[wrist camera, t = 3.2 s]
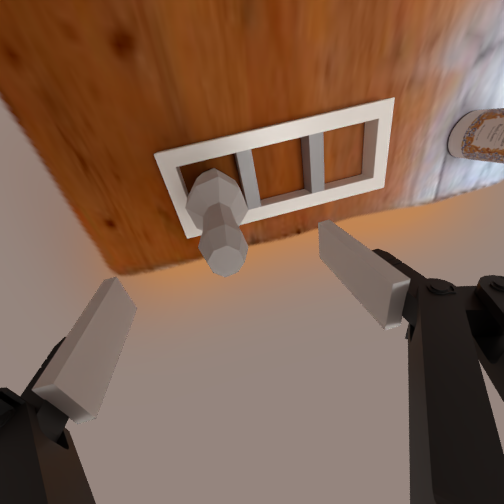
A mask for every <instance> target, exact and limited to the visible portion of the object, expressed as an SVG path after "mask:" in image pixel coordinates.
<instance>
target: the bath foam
mask: <svg viewBox="0 0 504 504" xmlns="http://www.w3.org/2000/svg"><path fill="white" fill-rule="evenodd" d="M448 148H449V152H450V153H451V155H453V156H454V157H458V158H466V159H472V160H480V161H488V162H496V163H504V108H500V109H486V110H476V111H473V112H471V113H469V114H467V115H466V116H464V117H463V118H462V119H461V120H460V121H459V122H458V123H457V124H456V126H455V127H454V129H453V131H452V132H451V135H450V138H449V142H448Z"/></svg>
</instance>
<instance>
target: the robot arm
mask: <svg viewBox="0 0 504 504" xmlns="http://www.w3.org/2000/svg"><path fill="white" fill-rule="evenodd" d="M318 230H319V251H320V252H319V253H320V258H321V260H322V261H323V262H324V263H325V264H326V265H327V266H328V267H329V268H330V270H331V271H332V272H333V273H334V274H335V275H336V276H337V277H338V279H339V280H340V281H341V282H342V283H343V284H344V285H345V286H346V287H347V289H348V290H349V291H350V292H351V293H352V294H353V295H354V296H355V297H356V299H357V300H358V301H359V302H360V303H361V304H362V305H363V306H364V307H365V309H366V310H367V311H368V312H369V313H370V314H371V315H372V316H373V318H374V319H375V320H376V321H377V322H378V323H379V324H380V325H381V326H382V328H383V329H384V330H387V329H390V328H394V327H397V326H400V324H401V319H402V316H403V317H404V318H405V319H406V320H407V321H408V322H409V325H408V329H407V333H406V337H405V338H406V339H408V374H409V446H410V447H409V449H410V504H504V454H503V450H502V447H501V442H500V439H499V435H498V431H497V428H496V424H495V420H494V417H493V412H492V409H491V405H490V401H489V398H488V394H487V390H486V386H485V382H484V379H483V375H482V371H481V367H480V364H479V361H480V363H481V364H482V366H483V368H484V370H485V371H486V373H487V375H488V376H489V378H490V380H491V381H492V383H493V385H494V386H495V388H496V390H497V391H498V393H499V395H500V396H501V398H502V400H503V401H504V277H503V276H495V275H491V276H490V275H489V276H484V277H481V278H480V280H479V282H478V284H477V286H460V287H456V286H454V285H453V284H452V283H450V282H447V281H445V280H441V279H433V278H429V279H427V278H425V277H424V276H422V275H421V274H419V273H418V272H416V271H415V270H413V269H412V268H410V267H409V266H407V265H406V264H404V263H402V262H401V261H400V260H398V259H396V258H395V257H394V256H393V255H391V254H390V253H388V252H385V251H382V250H380V249H375V250H370V249H368V248H367V247H366V246H364V245H363V244H362V243H360V242H359V241H357V240H356V239H355V238H353V237H352V236H351V235H349V234H348V233H347V232H345V231H344V230H343V229H341V228H340V227H338V226H337V225H336V224H334V223H333V222H332V221H330V220H327V221H323V222H319V223H318ZM136 310H137V307H136V306H135V304H134V303H133V301H132V300H131V298H130V297H129V295H128V293H127V292H126V290H125V289H124V287H123V286H122V284H121V283H120V281H119V280H118V278H117V277H114V278H110V279H106V280H104V281H103V283H102V284H101V286H100V287H99V289H98V290H97V292H96V293H95V295H94V296H93V298H92V299H91V301H90V302H89V304H88V305H87V307H86V308H85V310H84V311H83V313H82V314H81V316H80V317H79V319H78V320H77V322H76V323H75V325H74V327H73V328H72V329H71V331H70V332H69V334H68V335H67V337H64V338H63V339H62V340H61V341H60V342H59V343H58V344H57V345H56V346H55V347H54V348H53V350H52V351H51V353H50V354H49V355H48V357H47V359H46V360H45V361H44V363H43V364H42V366H41V368H40V369H39V370H38V372H37V373H36V374H35V376H34V377H33V379H32V380H31V382H30V383H29V384H28V386H27V387H26V389H25V390H24V392H23V393H22V395H21V396H18V395H17V394H15V393H14V392H12V391H11V390H9V389H8V388H0V504H96V503H95V500H94V498H93V495H92V492H91V489H90V487H89V484H88V481H87V478H86V476H85V473H84V470H83V467H82V465H81V462H80V459H79V457H78V454H77V451H76V448H75V446H74V443H73V440H72V438H71V435H70V432H69V431H68V430H67V429H66V428H65V425H66V423H67V421H68V419H69V418H70V419H71V420H73V421H74V422H75V423H77V424H80V423H83V422H87V421H90V420H93V419H96V418H97V415H98V412H99V409H100V407H101V404H102V401H103V399H104V396H105V393H106V391H107V388H108V385H109V383H110V380H111V377H112V375H113V372H114V369H115V367H116V364H117V361H118V359H119V356H120V353H121V350H122V348H123V345H124V343H125V340H126V337H127V334H128V332H129V328H130V326H131V324H132V321H133V318H134V316H135V313H136ZM478 359H479V360H478Z"/></svg>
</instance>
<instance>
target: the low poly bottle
mask: <svg viewBox="0 0 504 504" xmlns="http://www.w3.org/2000/svg"><path fill="white" fill-rule="evenodd" d="M185 209H186V210H187V212H188V214H189V216H190V217H191V219H192V221H193V223H194V225H195V226H196V228H197V229H199V230H202V231H203V232H202V235H201V239H200V243H199V247H198V248H199V250H200V251H201V253H202V255H203V256H204V258H205V260H206V261H207V263H208V265H209V266H210V268H211V270H212V271H213V273H216V274H218V275H221V276H224V277H227V276H230V275H232V274H235V273H237V272H238V271H239V270H240V268H241V267H242V265H243V264H244V262H245V258H246V254H247V251H248V245H247V243H246V241H245V238H244V236H243V234H242V232H241V230H240V229H239V225H240V224H241V222H242V220H243V219H244V217H245V215H246V214H247V212H248V207H247V205H246V202H245V200H244V197H243V195H242V192H241V190H240V188H239V186H238V184H237V183H236V181H235V180H234V179H232V178H231V177H229V176H227V175H226V174H224V173H222V172H220V171H219V170H217V169H215V168H213V169H210V170H208V171H206V172H203V173H202V174H201V175H200V176H199V177H197V179H196V181H195V183H194V185H193V187H192V189H191V191H190V193H189V196H188V198H187V203H186V207H185Z"/></svg>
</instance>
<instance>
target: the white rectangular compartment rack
mask: <svg viewBox="0 0 504 504" xmlns="http://www.w3.org/2000/svg"><path fill="white" fill-rule="evenodd" d="M394 99H395V98H388V99H382V100H377V101H372V102H368V103H364V104H360V105H355V106H351V107H347V108H343V109H338V110H334V111H330V112H325V113H321V114H317V115H313V116H308V117H304V118H300V119H296V120H291V121H287V122H283V123H279V124H274V125H270V126H266V127H261V128H257V129H253V130H249V131H244V132H240V133H236V134H232V135H227V136H223V137H219V138H215V139H210V140H206V141H202V142H198V143H193V144H189V145H185V146H180V147H176V148H172V149H168V150H163V151H159V152H157V153H155V154H154V157H155V159H156V162H157V164H158V167H159V169H160V172H161V174H162V177H163V179H164V182H165V184H166V187H167V189H168V192H169V194H170V197H171V199H172V202H173V204H174V207H175V209H176V212H177V214H178V217H179V219H180V222H181V224H182V227H183V229H184V232H185V234H186V237H187V239H188V238H192V237H196V236H200V235H202V232H203V231H202V230H199V229H197V228H196V226H195V225H194V223H193V221H192V219H191V217H190V216H189V214H188V212H187V210H186V209H185V207H186V203H187V198H188V196H189V194H188V191H187V188H186V185H185V182H184V179H183V176H182V174H181V171H180V168H179V166H183V165H187V164H191V163H195V162H199V161H203V160H208V159H212V158H216V157H220V156H224V155H229V154H233V153H234V155H235V159H236V164H237V168H238V173H239V178H240V182H241V187H242V191H243V196H244V200H245V202H246V205H247V207H248V212H247V214H246V215H245V217H244V219H243V220H242V222H241V224H240V225H242V224H246V223H250V222H253V221H257V220H261V219H265V218H269V217H273V216H276V215H280V214H284V213H288V212H292V211H296V210H299V209H303V208H307V207H311V206H315V205H319V204H322V203H326V202H330V201H334V200H338V199H342V198H346V197H349V196H353V195H357V194H361V193H365V192H369V191H372V190H376V189H380V188H384V183H385V174H386V166H387V158H388V149H389V141H390V132H391V124H392V116H393V107H394ZM362 122H365V129H364V145H363V161H362V174H361V175H357V176H353V177H349V178H345V179H341V180H337V181H333V182H329V183H325V184H324V145H323V132H324V131H329V130H333V129H337V128H341V127H345V126H349V125H354V124H358V123H362ZM299 137H301V147H302V162H303V176H304V189H302V190H298V191H294V192H290V193H286V194H282V195H278V196H274V197H270V198H266V199H263V200H260V196H259V191H258V185H257V180H256V174H255V169H254V163H253V158H252V152H251V149H254V148H258V147H262V146H266V145H270V144H274V143H279V142H283V141H287V140H291V139H295V138H299Z"/></svg>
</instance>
